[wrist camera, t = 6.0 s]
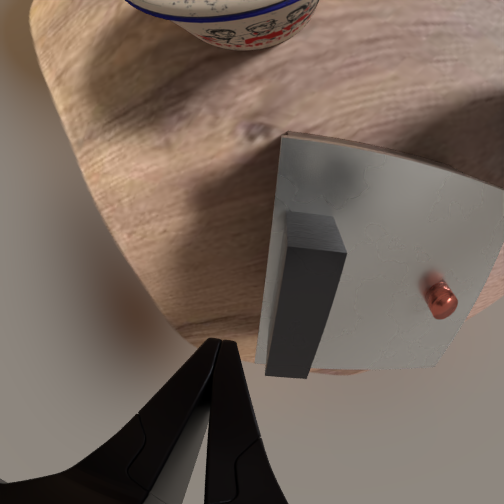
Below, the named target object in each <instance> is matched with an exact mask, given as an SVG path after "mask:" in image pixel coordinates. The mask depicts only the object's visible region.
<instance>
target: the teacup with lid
mask: <svg viewBox="0 0 504 504" xmlns="http://www.w3.org/2000/svg"><path fill="white" fill-rule="evenodd" d="M125 1H126V2H128V3H129V4H130V5H132V6H133V7H135V8H136V9H138V10H140V11H142V12H144V13H146V14H149V15H152V16H155V17H158V18H162V19H166V20H170V21H172V22H174V23H175V24H177V25H179V26H180V27H182V28H183V29H185V30H187V31H188V32H190V33H191V34H193V35H194V36H196V37H197V38H199V39H201V40H202V41H204V42H206V43H208V44H211V45H213V46H216V47H220V48H224V49H230V50H257V49H262V48H267V47H270V46H273V45H276V44H279V43H281V42H283V41H285V40H287V39H289V38H291V37H292V36H294V35H295V34H296V33H298V32H299V31H300V30H301V29H302V28H303V27H304V26H305V25H306V24H307V23H308V22H309V20H310V19H311V17H312V15H313V13H314V11H315V9H316V6H317V4H318V2H319V0H125Z"/></svg>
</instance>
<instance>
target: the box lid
mask: <svg viewBox="0 0 504 504" xmlns="http://www.w3.org/2000/svg"><path fill="white" fill-rule="evenodd" d="M503 242H504V188H501V187H499V186H496V185H493V184H491V183H488V182H485V181H483V180H480V179H477V178H474V177H471V176H468V175H466V174H463V173H459V172H456V171H453V170H450V169H447V168H444V167H440V166H437V165H433V164H430V163H426V162H423V161H419V160H415V159H411V158H408V157H404V156H400V155H395V154H391V153H387V152H382V151H378V150H373V149H368V148H364V147H358V146H353V145H348V144H342V143H337V142H331V141H324V140H318V139H311V138H304V137H296V136H288V135H282V136H281V145H280V155H279V164H278V174H277V183H276V192H275V201H274V210H273V219H272V227H271V236H270V244H269V253H268V261H267V269H266V277H265V285H264V293H263V301H262V309H261V317H260V324H259V332H258V340H257V347H256V355H255V363H257V364H266V368H265V376H275V377H288V378H303V379H307V376H308V373H309V371H310V368H323V369H406V368H407V369H408V368H425V367H434V366H435V365H436V364H437V362H438V361H439V360H440V358H441V357H442V355H443V354H444V352H445V351H446V349H447V348H448V346H449V345H450V343H451V342H452V340H453V339H454V337H455V336H456V334H457V333H458V331H459V329H460V328H461V326H462V324H463V323H464V321H465V319H466V318H467V316H468V314H469V313H470V311H471V309H472V307H473V305H474V304H475V302H476V300H477V298H478V296H479V294H480V292H481V290H482V289H483V287H484V285H485V283H486V281H487V278H488V276H489V274H490V272H491V270H492V268H493V266H494V263H495V261H496V259H497V257H498V254H499V252H500V249H501V247H502V245H503Z"/></svg>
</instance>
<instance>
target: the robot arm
mask: <svg viewBox="0 0 504 504" xmlns="http://www.w3.org/2000/svg"><path fill="white" fill-rule="evenodd" d="M138 413H139V414H136V415H135V416H134V417H133V418H132V419H131V420H130V421H129V422H128V423H127V424H126V425H125V426H124V427H123V428H122V429H121V430H120V431H119V432H117V433H116V434H115V435H114V436H113V437H112V438H110V439H109V440H108V441H107V442H106V443H104V444H103V445H101V446H100V447H99V448H97V449H96V450H95V451H93V452H92V453H91V454H90V455H88V456H87V457H86V458H84V459H83V460H81V461H80V462H79V463H77V464H76V465H74V466H73V467H71V468H69V469H67V470H65V471H63V472H60V473H57V474H53V475H48V476H44V477H39V478H34V479H29V480H24V481H18V482H12V483H7V482H5V481H3V480H2V479H0V504H182V502H183V499H184V496H185V493H186V490H187V487H188V484H189V481H190V478H191V475H192V472H193V469H194V466H195V463H196V459H197V456H198V453H199V450H200V447H201V444H202V441H203V438H204V435H205V432H206V429H207V425H208V422H209V428H208V443H207V459H206V475H205V495H204V504H288V502H287V500H286V498H285V496H284V494H283V492H282V490H281V488H280V486H279V484H278V482H277V480H276V478H275V475H274V473H273V471H272V469H271V466H270V463H269V461H268V458H267V455H266V452H265V449H264V445H263V441H262V438H260V437H261V435H260V431H259V428H258V424H257V420H256V417H255V413H254V409H253V406H252V402H251V398H250V394H249V391H248V387H247V383H246V379H245V376H244V371H243V368H242V363H241V359H240V355H239V351H238V347H237V343H236V342H235V341H231V340H223V341H222V340H221V339H217V338H208V339H207V340H206V341H205V342H204V343H203V344H202V345H201V346H200V347H199V348H198V349H197V350H196V352H195V353H194V354H193V355H192V356H191V357H190V358H189V359H188V360H187V361H186V362H185V364H183V366H182V367H181V368H180V369H179V370H178V371H177V372H176V373H175V374H174V375H173V376H172V377H171V378H170V379H169V380H168V382H167V383H166V384H165V385H164V386H163V387H162V388H161V389H160V390H159V391H158V392H157V393H156V394H155V395H154V396H153V397H152V398H151V399H150V400H149V402H147V404H146V405H145V406H144V407H143V408H142V409H141V410H140V411H139V412H138Z"/></svg>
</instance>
